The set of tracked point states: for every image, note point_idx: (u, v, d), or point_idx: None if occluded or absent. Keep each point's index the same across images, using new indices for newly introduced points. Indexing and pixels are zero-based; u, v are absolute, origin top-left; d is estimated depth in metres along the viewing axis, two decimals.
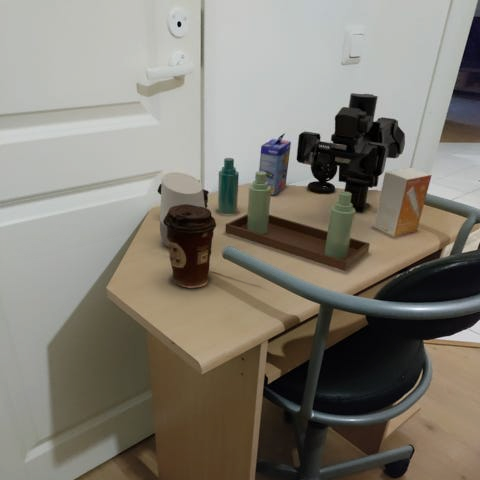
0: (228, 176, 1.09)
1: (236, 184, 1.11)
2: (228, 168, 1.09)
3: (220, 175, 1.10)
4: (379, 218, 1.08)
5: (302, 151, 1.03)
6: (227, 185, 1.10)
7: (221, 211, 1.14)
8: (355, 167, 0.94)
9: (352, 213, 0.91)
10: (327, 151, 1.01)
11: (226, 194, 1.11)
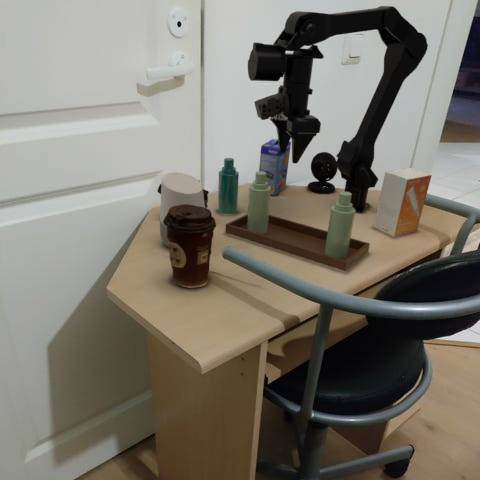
0: (228, 176, 1.09)
1: (236, 184, 1.11)
2: (228, 168, 1.09)
3: (220, 175, 1.10)
4: (379, 218, 1.08)
5: None
6: (227, 185, 1.10)
7: (221, 211, 1.14)
8: (299, 154, 1.05)
9: (352, 213, 0.91)
10: None
11: (226, 194, 1.11)
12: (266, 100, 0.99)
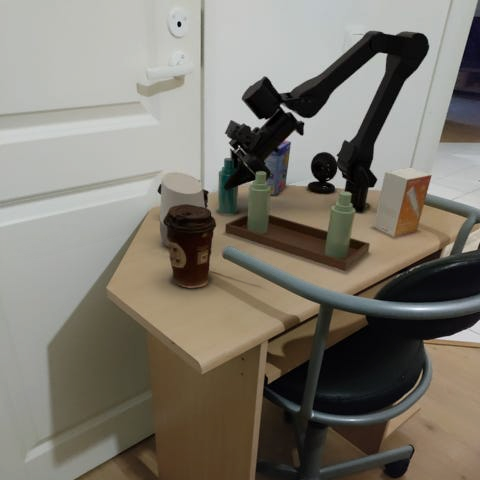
0: (228, 176, 1.09)
1: None
2: (228, 168, 1.09)
3: (220, 175, 1.10)
4: (379, 218, 1.08)
5: None
6: None
7: (221, 211, 1.14)
8: (233, 184, 1.09)
9: (352, 213, 0.91)
10: (243, 157, 1.12)
11: (226, 194, 1.11)
12: (243, 124, 1.02)
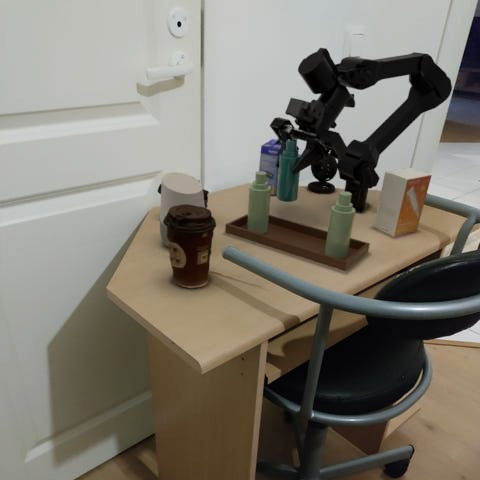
0: (296, 159, 1.02)
1: None
2: (293, 150, 1.02)
3: (286, 159, 1.02)
4: (379, 218, 1.08)
5: None
6: None
7: (285, 198, 1.06)
8: (302, 167, 1.02)
9: (352, 213, 0.91)
10: (296, 137, 1.06)
11: (293, 178, 1.04)
12: (315, 101, 0.96)
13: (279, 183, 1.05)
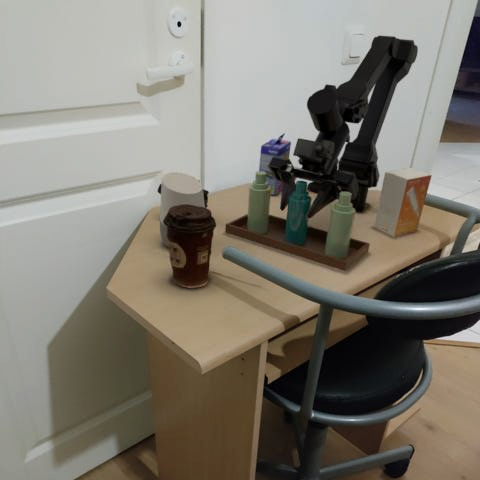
0: (308, 201, 0.95)
1: None
2: (304, 192, 0.95)
3: (298, 202, 0.95)
4: (379, 218, 1.08)
5: (282, 180, 1.01)
6: (306, 212, 0.96)
7: (297, 242, 0.99)
8: (317, 210, 0.96)
9: (352, 213, 0.91)
10: (299, 177, 0.99)
11: (305, 222, 0.97)
12: (327, 141, 0.90)
13: (289, 227, 0.98)
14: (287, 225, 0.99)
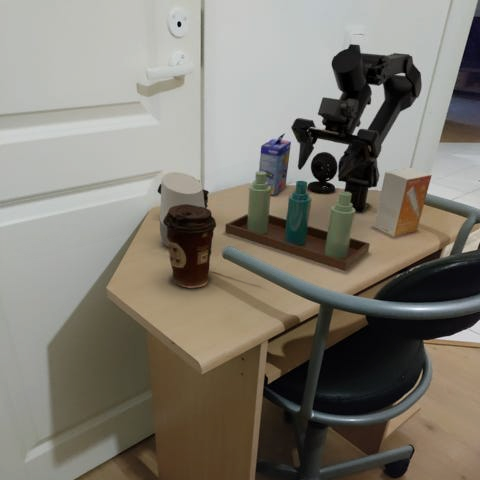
0: (308, 201, 0.95)
1: None
2: (304, 192, 0.95)
3: (298, 202, 0.95)
4: (379, 218, 1.08)
5: (299, 140, 1.04)
6: (306, 212, 0.96)
7: (297, 242, 0.99)
8: (347, 170, 0.98)
9: (352, 213, 0.91)
10: (322, 138, 1.01)
11: (305, 222, 0.97)
12: (352, 99, 0.93)
13: (289, 227, 0.98)
14: (287, 225, 0.99)
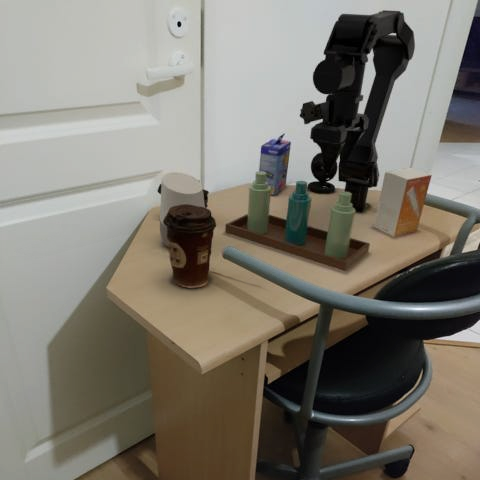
0: (308, 201, 0.95)
1: None
2: (304, 192, 0.95)
3: (298, 202, 0.95)
4: (379, 218, 1.08)
5: None
6: (306, 212, 0.96)
7: (297, 242, 0.99)
8: (329, 164, 0.99)
9: (352, 213, 0.91)
10: None
11: (305, 222, 0.97)
12: None
13: (289, 227, 0.98)
14: (287, 225, 0.99)
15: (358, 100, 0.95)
